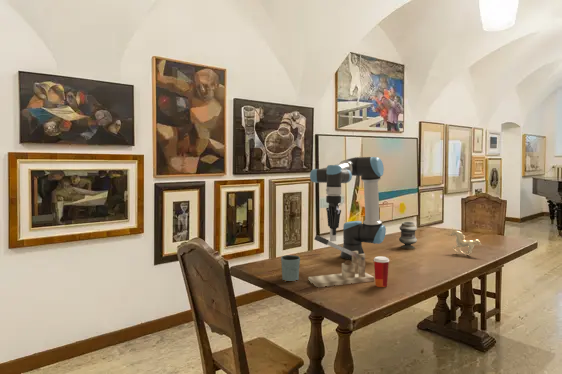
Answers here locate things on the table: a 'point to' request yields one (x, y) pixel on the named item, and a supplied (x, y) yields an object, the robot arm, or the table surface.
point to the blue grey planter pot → (290, 267)
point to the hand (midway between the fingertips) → (333, 241)
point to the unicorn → (464, 242)
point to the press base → (342, 279)
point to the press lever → (335, 246)
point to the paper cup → (381, 271)
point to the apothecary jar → (408, 235)
